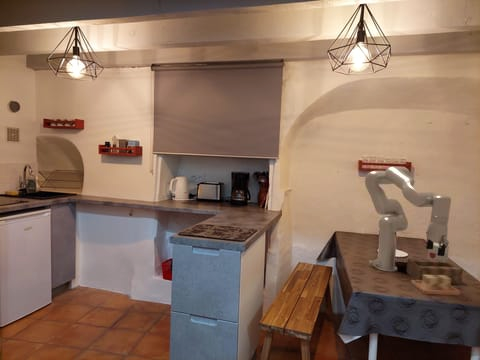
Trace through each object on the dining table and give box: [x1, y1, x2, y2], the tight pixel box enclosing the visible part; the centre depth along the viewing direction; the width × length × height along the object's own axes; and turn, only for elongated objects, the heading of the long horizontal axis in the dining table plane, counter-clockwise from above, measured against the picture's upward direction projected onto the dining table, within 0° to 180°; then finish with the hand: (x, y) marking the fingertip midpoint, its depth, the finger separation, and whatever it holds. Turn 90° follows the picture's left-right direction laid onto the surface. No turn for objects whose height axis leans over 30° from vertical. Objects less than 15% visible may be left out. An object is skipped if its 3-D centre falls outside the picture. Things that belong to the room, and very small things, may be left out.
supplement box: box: [426, 242, 450, 261], centre depth 197 cm, size 9×9×15 cm
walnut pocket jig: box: [406, 258, 464, 285], centre depth 180 cm, size 22×14×8 cm, turn 89°
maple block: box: [422, 275, 452, 290], centre depth 165 cm, size 12×4×6 cm, turn 90°
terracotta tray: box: [410, 279, 462, 296], centre depth 166 cm, size 18×13×2 cm
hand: (434, 252), depth 164 cm, fingers open, 9 cm apart
